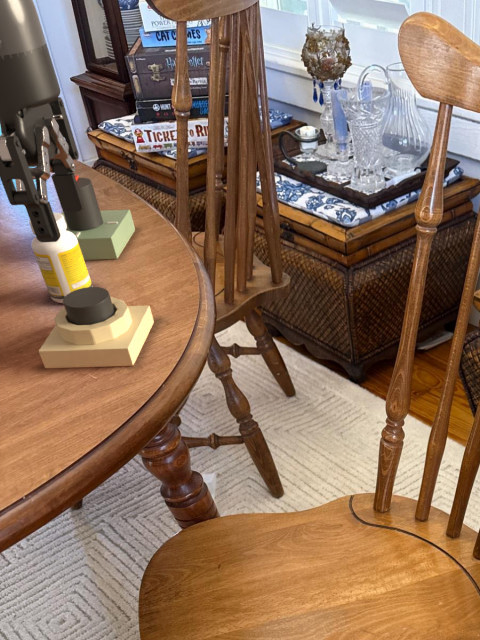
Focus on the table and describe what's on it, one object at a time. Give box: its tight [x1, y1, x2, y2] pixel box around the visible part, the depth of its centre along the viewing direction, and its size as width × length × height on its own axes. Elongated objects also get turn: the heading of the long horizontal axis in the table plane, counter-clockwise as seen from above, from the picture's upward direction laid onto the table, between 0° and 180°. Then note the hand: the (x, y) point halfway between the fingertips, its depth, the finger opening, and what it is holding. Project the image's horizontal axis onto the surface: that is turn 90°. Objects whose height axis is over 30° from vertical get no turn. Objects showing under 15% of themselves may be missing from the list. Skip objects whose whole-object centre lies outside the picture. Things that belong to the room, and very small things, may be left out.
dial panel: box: [60, 209, 136, 261], centre depth 111 cm, size 10×10×3 cm
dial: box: [61, 174, 103, 231], centre depth 108 cm, size 5×5×6 cm
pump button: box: [62, 286, 115, 325], centre depth 88 cm, size 5×5×2 cm
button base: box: [38, 296, 155, 369], centre depth 90 cm, size 10×10×4 cm
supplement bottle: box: [28, 212, 94, 304], centre depth 97 cm, size 5×5×10 cm
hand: (62, 224), depth 81 cm, fingers open, 7 cm apart
